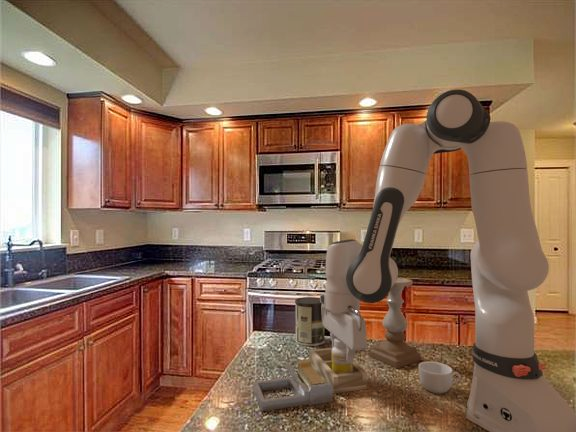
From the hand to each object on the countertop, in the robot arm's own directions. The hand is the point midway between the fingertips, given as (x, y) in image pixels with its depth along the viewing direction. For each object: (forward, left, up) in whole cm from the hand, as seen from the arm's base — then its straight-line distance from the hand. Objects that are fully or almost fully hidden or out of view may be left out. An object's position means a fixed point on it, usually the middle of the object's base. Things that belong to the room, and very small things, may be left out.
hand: (342, 355), depth 92 cm
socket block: (+2, +15, -7) cm, 16 cm away
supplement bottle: (0, 0, -6) cm, 6 cm away
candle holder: (+10, -22, -7) cm, 25 cm away
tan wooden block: (-1, +9, -7) cm, 11 cm away
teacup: (-10, -22, -7) cm, 25 cm away
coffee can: (+31, -2, -7) cm, 32 cm away
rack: (+4, 0, -7) cm, 8 cm away
